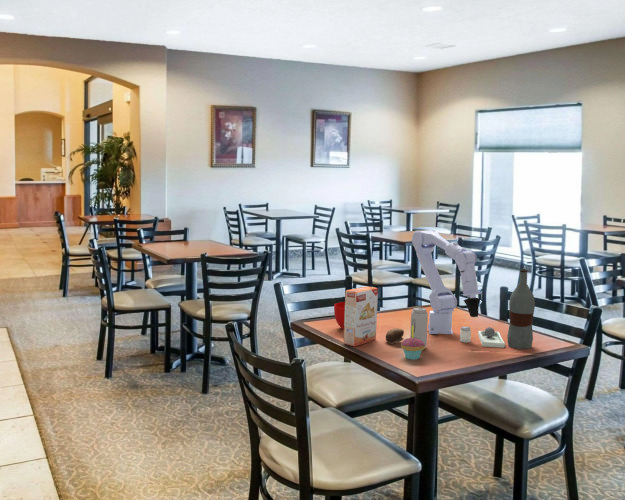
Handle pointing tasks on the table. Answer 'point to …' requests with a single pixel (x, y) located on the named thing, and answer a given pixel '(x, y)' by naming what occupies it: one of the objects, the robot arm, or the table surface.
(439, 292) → the robot arm
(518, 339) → the bottle
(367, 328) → the cracker box
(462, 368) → the table surface
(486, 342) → the tray
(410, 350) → the cupcake
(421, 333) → the energy drink can
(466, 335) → the shaker
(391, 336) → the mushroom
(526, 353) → the table surface
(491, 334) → the ball
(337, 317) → the ceramic cup
